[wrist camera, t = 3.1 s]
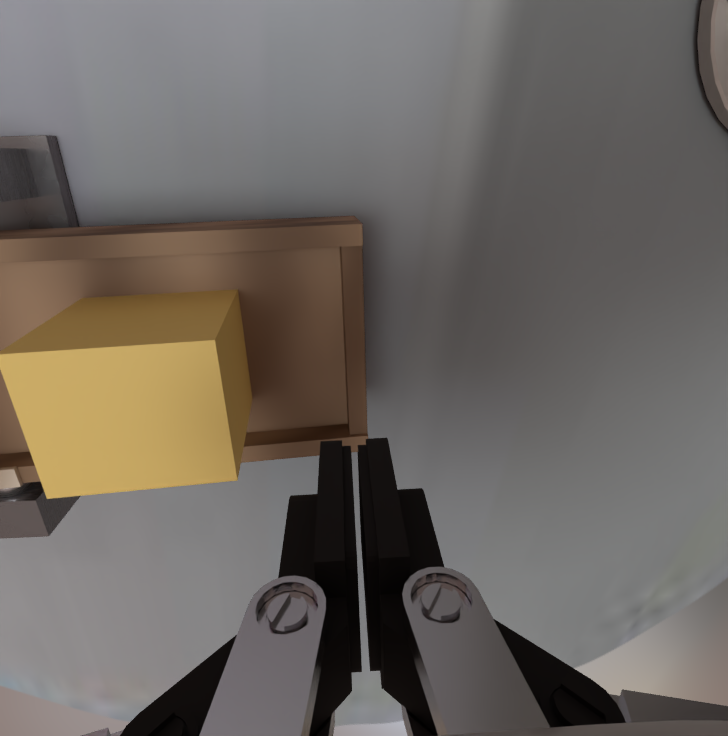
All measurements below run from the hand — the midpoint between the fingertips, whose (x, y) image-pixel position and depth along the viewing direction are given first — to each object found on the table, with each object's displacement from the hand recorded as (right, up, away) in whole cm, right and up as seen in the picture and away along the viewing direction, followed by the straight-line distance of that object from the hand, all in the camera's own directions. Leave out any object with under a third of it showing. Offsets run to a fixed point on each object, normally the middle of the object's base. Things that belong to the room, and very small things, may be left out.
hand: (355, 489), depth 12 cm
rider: (-8, +4, +8) cm, 12 cm away
